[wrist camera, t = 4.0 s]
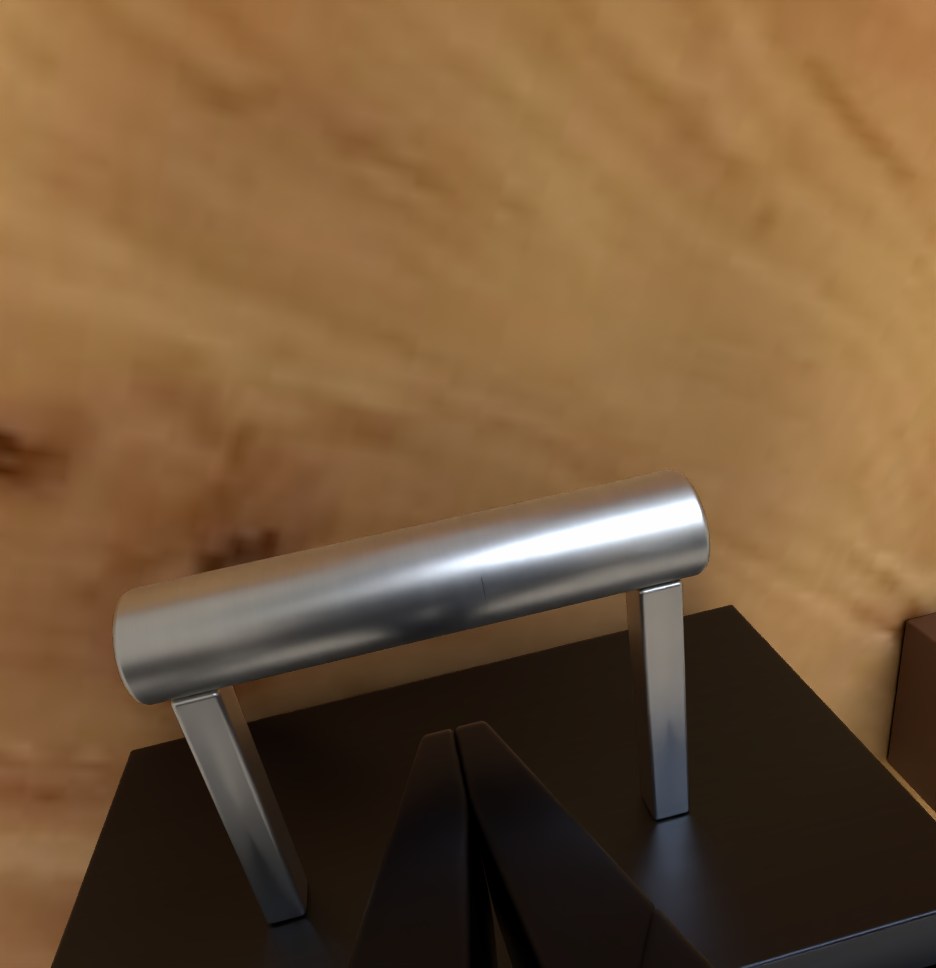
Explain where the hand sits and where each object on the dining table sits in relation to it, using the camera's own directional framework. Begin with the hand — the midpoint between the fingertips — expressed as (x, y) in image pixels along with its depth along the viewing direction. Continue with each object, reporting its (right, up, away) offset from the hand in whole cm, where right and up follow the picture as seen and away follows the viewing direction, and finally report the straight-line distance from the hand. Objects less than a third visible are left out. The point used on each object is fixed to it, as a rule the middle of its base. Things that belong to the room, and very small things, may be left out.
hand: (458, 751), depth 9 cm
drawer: (0, -4, +7) cm, 8 cm away
